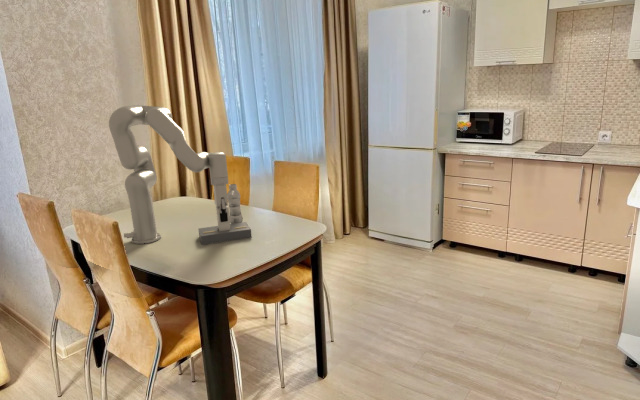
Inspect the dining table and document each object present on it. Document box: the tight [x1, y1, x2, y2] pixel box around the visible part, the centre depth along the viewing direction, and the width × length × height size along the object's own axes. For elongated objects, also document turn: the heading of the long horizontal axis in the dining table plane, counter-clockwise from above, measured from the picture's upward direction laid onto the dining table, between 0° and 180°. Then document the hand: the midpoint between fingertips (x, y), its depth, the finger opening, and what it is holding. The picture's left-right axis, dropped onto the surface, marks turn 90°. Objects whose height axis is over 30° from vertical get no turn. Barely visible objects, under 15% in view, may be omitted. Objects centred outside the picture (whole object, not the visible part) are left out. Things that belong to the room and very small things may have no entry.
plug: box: [215, 205, 231, 231], centre depth 199 cm, size 5×4×16 cm
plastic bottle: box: [227, 183, 244, 224], centre depth 218 cm, size 6×7×20 cm
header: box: [198, 221, 253, 246], centre depth 201 cm, size 22×12×4 cm, turn 110°
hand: (223, 219), depth 200 cm, fingers closed on plug, 4 cm apart
